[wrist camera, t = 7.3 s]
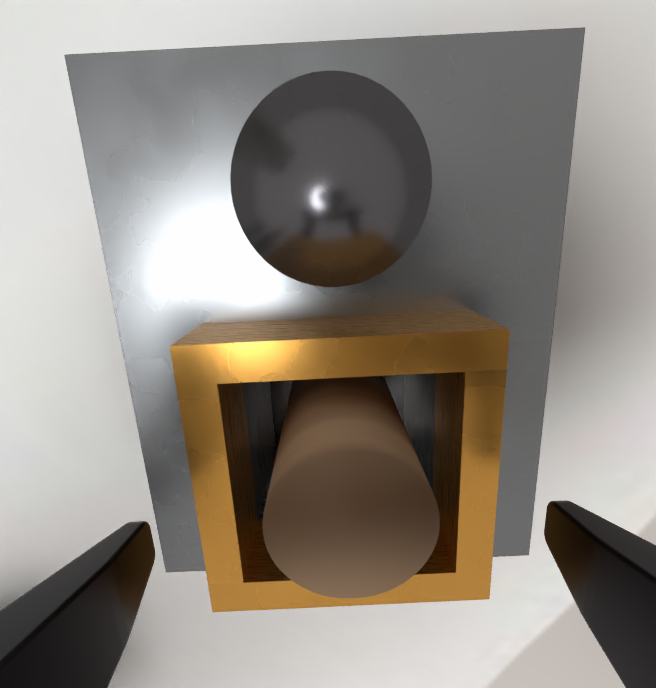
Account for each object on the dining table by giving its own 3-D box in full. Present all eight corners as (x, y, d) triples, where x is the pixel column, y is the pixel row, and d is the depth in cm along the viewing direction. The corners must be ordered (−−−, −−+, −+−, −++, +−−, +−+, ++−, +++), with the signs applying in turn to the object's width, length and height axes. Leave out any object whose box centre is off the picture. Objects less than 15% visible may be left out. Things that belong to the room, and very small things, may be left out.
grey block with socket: (475, 473, 19) (571, 621, 11) (206, 486, 19) (132, 642, 11) (498, 98, 14) (672, -43, 7) (150, 115, 14) (-22, -6, 7)
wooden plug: (382, 421, 18) (438, 594, 9) (296, 426, 18) (270, 602, 9) (381, 338, 17) (442, 444, 8) (289, 343, 17) (253, 453, 8)
